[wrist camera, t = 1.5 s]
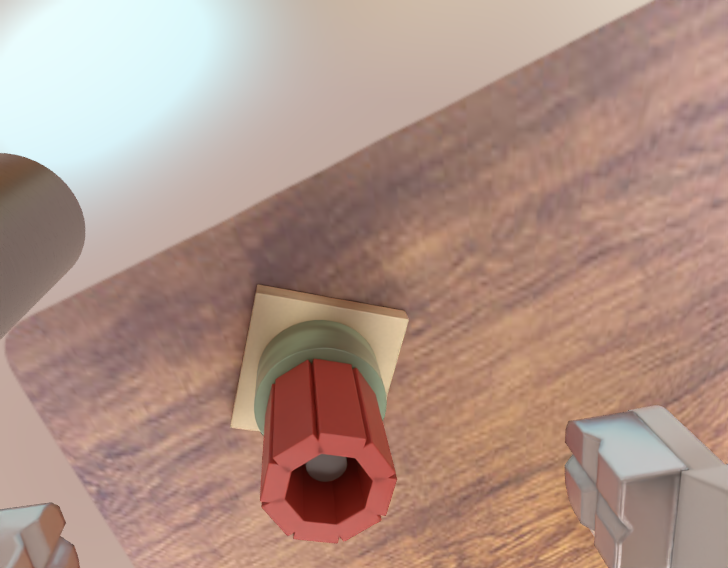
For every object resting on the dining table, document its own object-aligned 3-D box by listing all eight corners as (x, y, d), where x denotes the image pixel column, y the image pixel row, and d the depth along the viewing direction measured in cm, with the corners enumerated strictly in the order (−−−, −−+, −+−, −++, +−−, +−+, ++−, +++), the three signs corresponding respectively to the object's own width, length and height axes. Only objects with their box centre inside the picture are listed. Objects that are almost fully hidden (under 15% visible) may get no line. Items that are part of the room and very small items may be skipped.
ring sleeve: (258, 444, 37) (252, 535, 30) (278, 352, 35) (276, 426, 28) (360, 457, 38) (376, 548, 31) (385, 369, 36) (408, 444, 29)
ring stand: (231, 415, 43) (214, 530, 32) (257, 284, 39) (246, 365, 29) (370, 434, 44) (394, 549, 34) (405, 310, 41) (443, 396, 31)
